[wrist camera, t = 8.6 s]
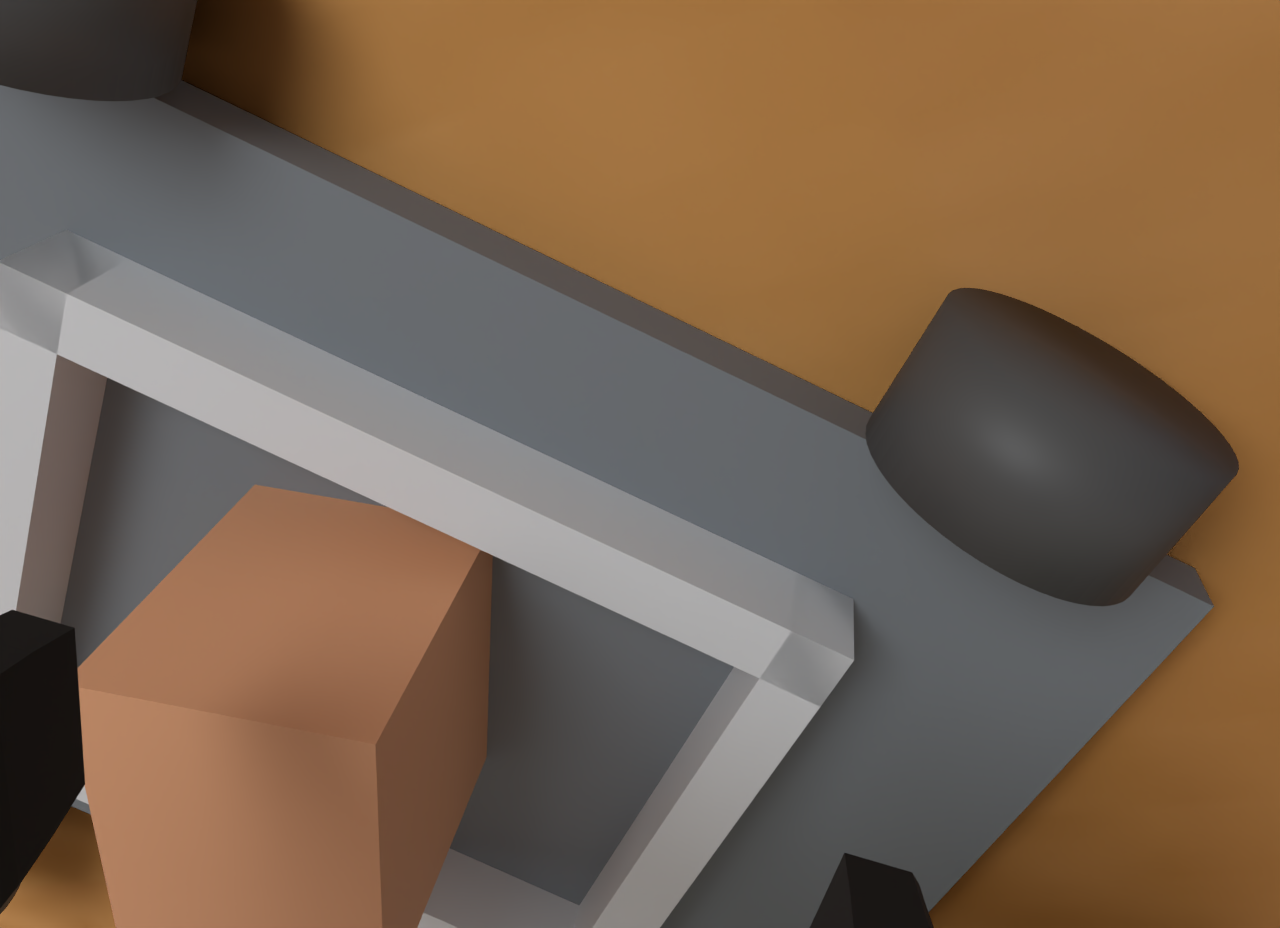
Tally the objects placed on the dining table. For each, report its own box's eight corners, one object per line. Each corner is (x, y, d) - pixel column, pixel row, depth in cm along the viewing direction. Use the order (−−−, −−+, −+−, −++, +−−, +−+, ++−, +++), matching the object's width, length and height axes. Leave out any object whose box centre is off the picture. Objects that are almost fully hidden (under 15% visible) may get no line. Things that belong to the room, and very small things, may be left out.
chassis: (1309, 440, 15) (1444, 605, 12) (706, 1111, 25) (684, 1307, 22) (-158, -283, 14) (-485, -334, 11) (-188, 724, 24) (-362, 867, 21)
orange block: (493, 525, 17) (374, 744, 13) (486, 756, 20) (385, 1007, 15) (254, 484, 18) (62, 683, 13) (276, 716, 20) (120, 949, 16)
